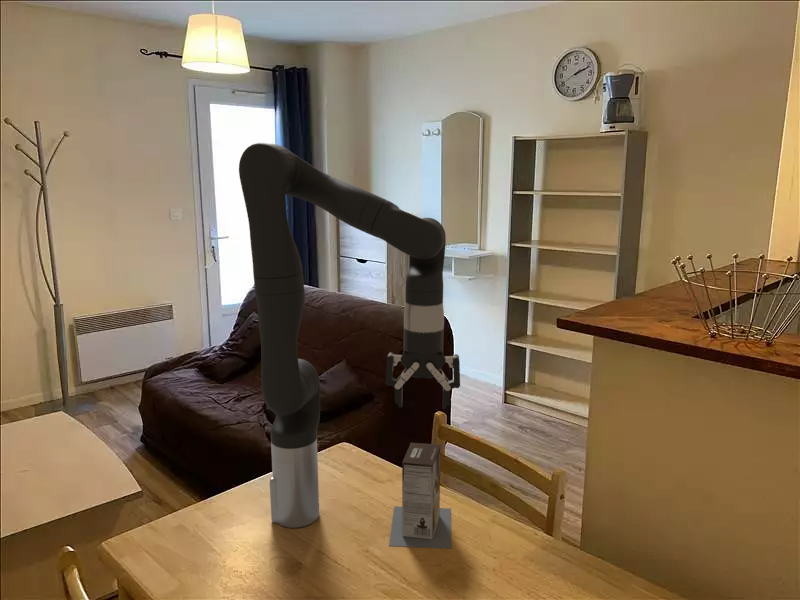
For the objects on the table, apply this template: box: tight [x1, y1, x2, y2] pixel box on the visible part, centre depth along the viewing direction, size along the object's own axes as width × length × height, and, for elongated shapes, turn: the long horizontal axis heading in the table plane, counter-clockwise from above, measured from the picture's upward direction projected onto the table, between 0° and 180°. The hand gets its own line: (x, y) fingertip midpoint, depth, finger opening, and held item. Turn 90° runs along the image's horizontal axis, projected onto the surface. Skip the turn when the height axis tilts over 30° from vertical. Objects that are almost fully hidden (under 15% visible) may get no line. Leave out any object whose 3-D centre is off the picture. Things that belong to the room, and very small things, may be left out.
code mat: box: [388, 505, 453, 550], centre depth 124 cm, size 12×14×1 cm
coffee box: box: [401, 442, 442, 540], centre depth 123 cm, size 9×6×16 cm
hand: (422, 406), depth 119 cm, fingers open, 8 cm apart
